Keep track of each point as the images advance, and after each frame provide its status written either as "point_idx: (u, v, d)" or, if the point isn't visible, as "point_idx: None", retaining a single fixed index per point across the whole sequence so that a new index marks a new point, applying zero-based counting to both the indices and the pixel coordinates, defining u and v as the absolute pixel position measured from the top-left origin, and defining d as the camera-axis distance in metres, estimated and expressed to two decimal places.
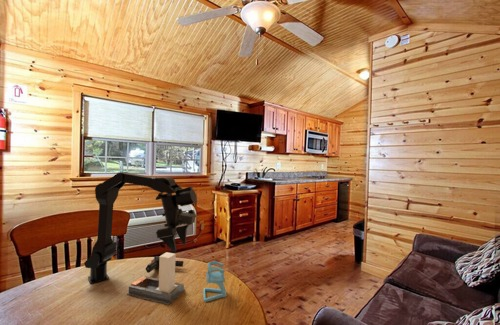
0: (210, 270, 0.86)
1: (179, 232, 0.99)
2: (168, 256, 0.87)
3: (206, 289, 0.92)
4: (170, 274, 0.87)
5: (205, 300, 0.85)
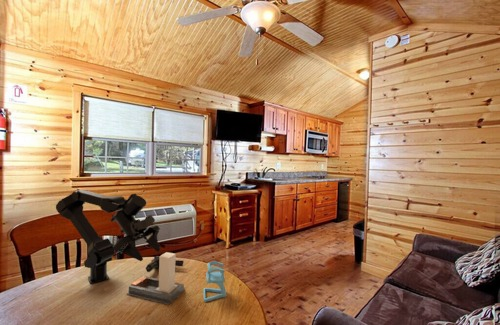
0: (210, 270, 0.86)
1: (150, 243, 0.97)
2: (168, 256, 0.87)
3: (206, 289, 0.92)
4: (170, 274, 0.87)
5: (205, 300, 0.85)
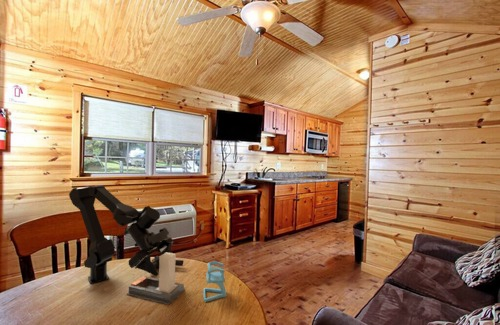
0: (210, 270, 0.86)
1: None
2: (168, 256, 0.87)
3: (206, 289, 0.92)
4: (170, 274, 0.87)
5: (205, 300, 0.85)
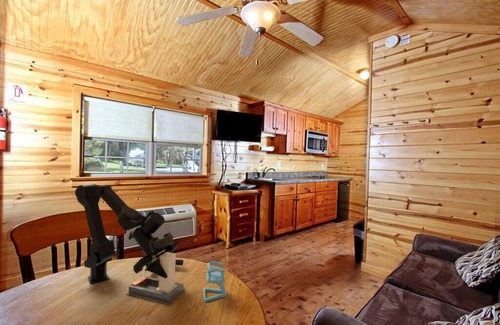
0: (210, 270, 0.86)
1: None
2: (168, 256, 0.87)
3: (206, 289, 0.92)
4: (170, 274, 0.87)
5: (205, 300, 0.85)
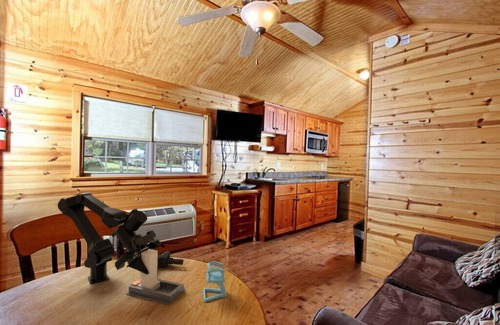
0: (210, 270, 0.86)
1: None
2: (150, 253, 0.89)
3: (206, 289, 0.92)
4: (152, 271, 0.90)
5: (205, 300, 0.85)
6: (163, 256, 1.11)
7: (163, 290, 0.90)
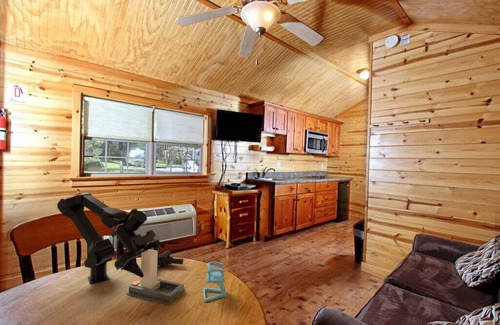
0: (210, 270, 0.86)
1: None
2: (150, 253, 0.89)
3: (206, 289, 0.92)
4: (152, 271, 0.90)
5: (205, 300, 0.85)
6: (163, 255, 1.11)
7: (163, 290, 0.90)
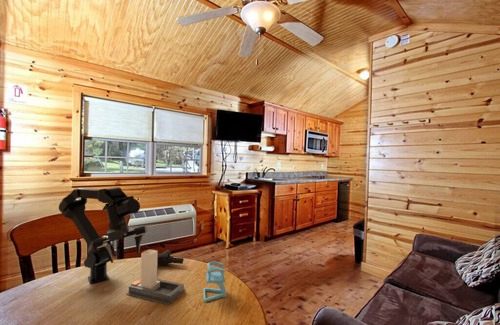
0: (210, 270, 0.86)
1: None
2: (150, 253, 0.89)
3: (206, 289, 0.92)
4: (152, 271, 0.90)
5: (205, 300, 0.85)
6: (163, 255, 1.12)
7: (163, 290, 0.90)
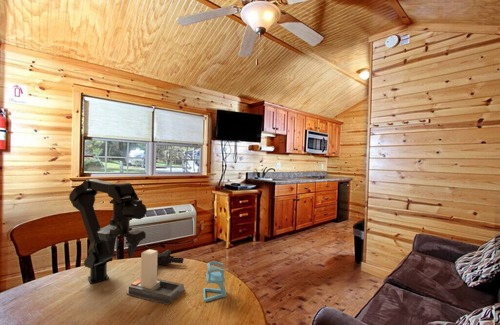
0: (210, 270, 0.86)
1: None
2: (150, 253, 0.89)
3: (206, 289, 0.92)
4: (152, 271, 0.90)
5: (205, 300, 0.85)
6: (163, 255, 1.12)
7: (163, 290, 0.90)
